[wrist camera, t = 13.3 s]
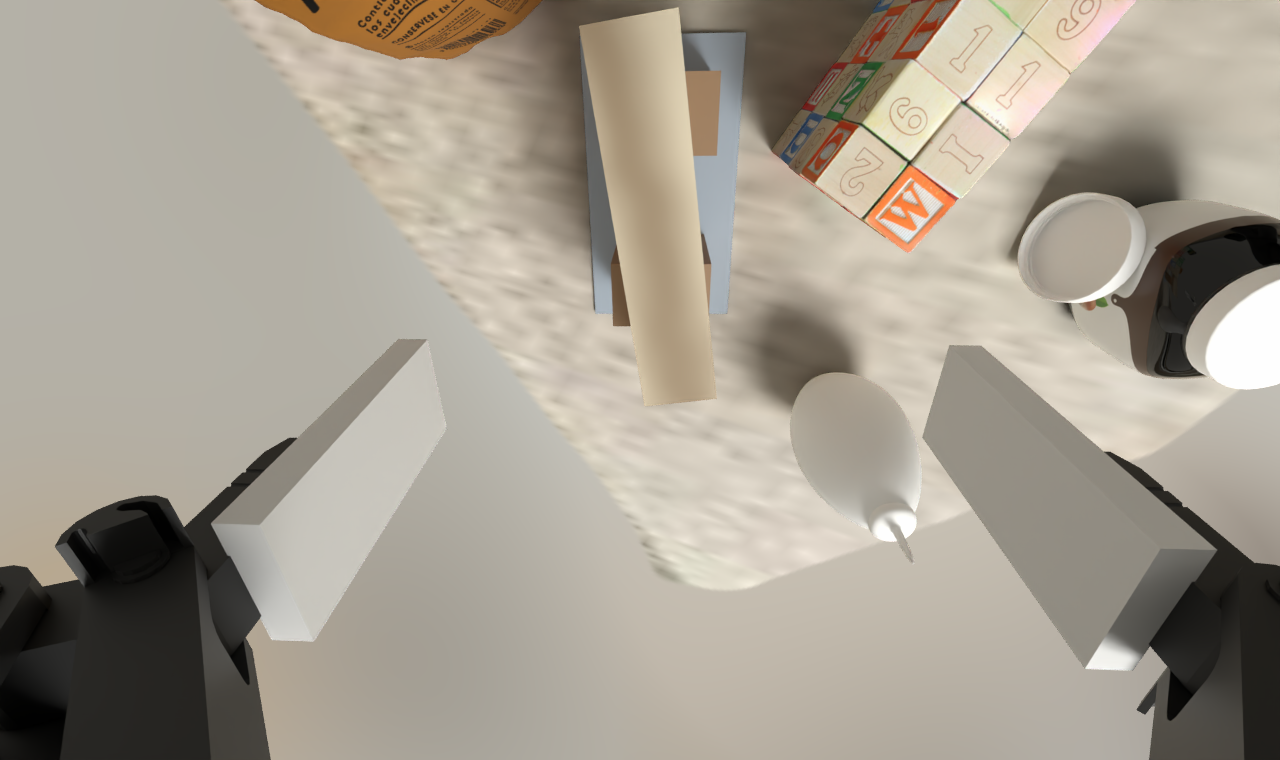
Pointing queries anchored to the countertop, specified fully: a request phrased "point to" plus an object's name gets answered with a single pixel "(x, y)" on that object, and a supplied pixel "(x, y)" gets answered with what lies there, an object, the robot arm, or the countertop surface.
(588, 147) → the build board
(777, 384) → the countertop surface
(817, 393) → the sauce bottle
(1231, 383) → the spread jar
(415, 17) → the coffee package
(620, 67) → the bar
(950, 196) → the stack of blocks
